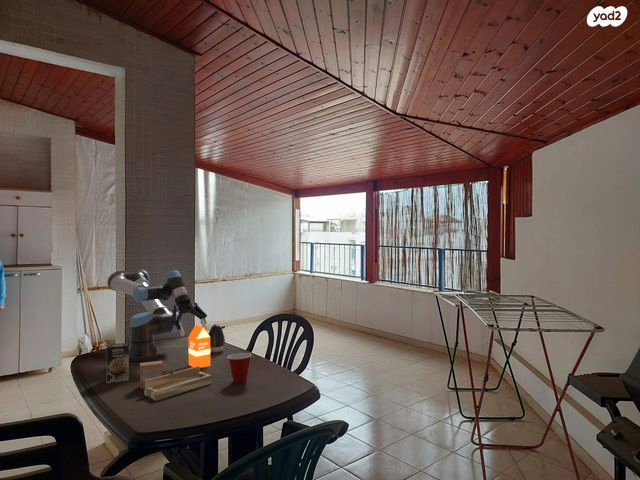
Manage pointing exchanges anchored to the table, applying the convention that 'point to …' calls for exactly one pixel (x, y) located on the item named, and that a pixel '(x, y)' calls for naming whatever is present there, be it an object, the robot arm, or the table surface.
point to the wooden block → (150, 371)
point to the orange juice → (199, 347)
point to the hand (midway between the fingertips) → (194, 332)
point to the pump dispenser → (216, 338)
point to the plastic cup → (239, 366)
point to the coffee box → (117, 363)
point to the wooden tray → (175, 383)
